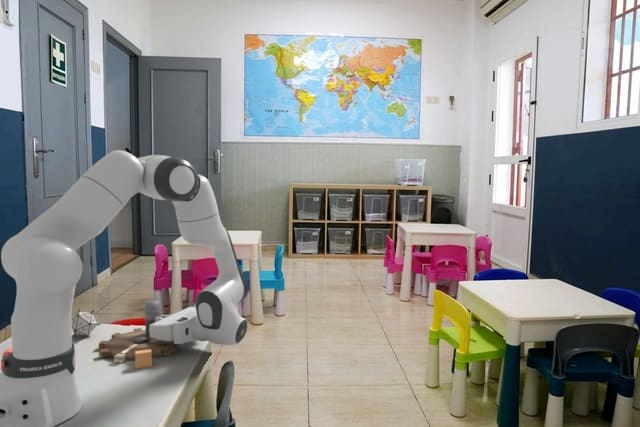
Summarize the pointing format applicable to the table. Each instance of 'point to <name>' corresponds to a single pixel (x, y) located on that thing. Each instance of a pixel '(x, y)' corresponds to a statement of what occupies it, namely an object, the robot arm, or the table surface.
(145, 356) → the orange wooden block
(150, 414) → the table surface
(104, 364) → the table surface
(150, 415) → the table surface
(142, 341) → the sprocket
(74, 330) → the game die
